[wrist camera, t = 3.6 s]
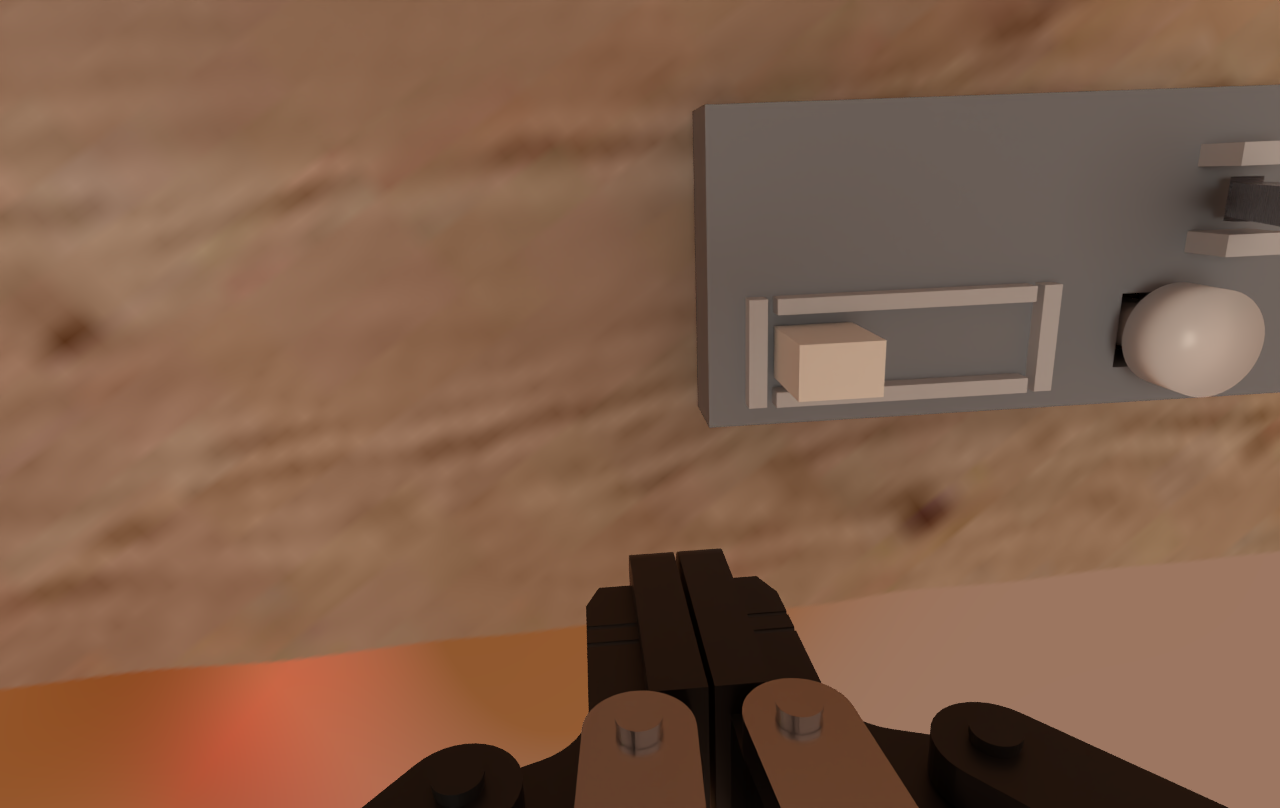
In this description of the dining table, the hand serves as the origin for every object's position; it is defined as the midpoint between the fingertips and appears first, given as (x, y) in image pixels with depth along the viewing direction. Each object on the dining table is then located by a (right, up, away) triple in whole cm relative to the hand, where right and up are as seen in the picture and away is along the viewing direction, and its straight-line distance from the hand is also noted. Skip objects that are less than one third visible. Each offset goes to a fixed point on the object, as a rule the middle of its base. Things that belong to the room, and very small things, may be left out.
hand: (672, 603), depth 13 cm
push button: (+20, +7, +20) cm, 29 cm away
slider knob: (+6, +5, +17) cm, 19 cm away
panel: (+15, +10, +20) cm, 27 cm away
